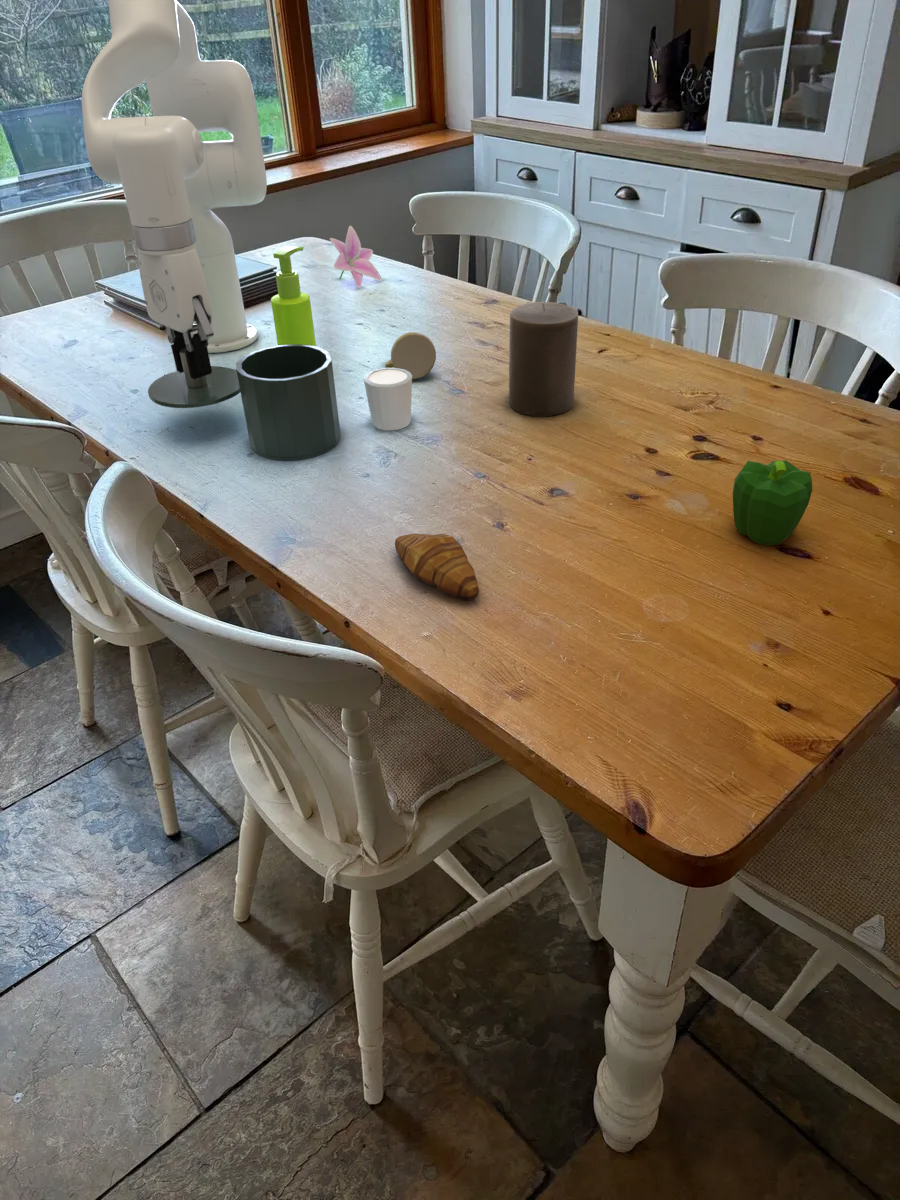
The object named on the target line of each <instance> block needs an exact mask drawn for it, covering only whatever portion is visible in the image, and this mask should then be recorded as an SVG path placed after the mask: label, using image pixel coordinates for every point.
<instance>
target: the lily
mask: <svg viewBox="0 0 900 1200" xmlns="http://www.w3.org/2000/svg"><path fill="white" fill-rule="evenodd" d="M329 241H330V243H332V245H333V246H334V248H335V249H336V250H337V252H338V253H339V255H338V256H337V258H336V260H335V262H334V263H333V268H334V269H335V270H339V271H341V273H340V276H339V278H338V279H339V280H341V279H342V277H343V275H344V272H350V274H351V276H352V279H353V281H354V283H355V285H356V287H357V289H360V288H361V287H362V283H363V280H364V279H363V278H364V276H366V277H369V278H372V279H374V280H377V281H379V282H380V281H381V282H382V281H383V279H382V275H380V272H379V271H378V269H377V268H376V266H375V265H374V264H373V263H372V262H371V261H370V260H371V258H372V256H373V254H374V250H373V249H371V248H366V247H362V244H361V241H360V238H359V236H358V234H357V232H356V230H355V228H353V226H352V225H349V227H348V228H347V232H346V236H345V240H344V241H345V242H343V241H342V240H339V239H337V238H334V237H329ZM363 275H364V276H363Z"/></svg>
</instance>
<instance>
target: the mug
mask: <svg viewBox="0 0 900 1200" xmlns="http://www.w3.org/2000/svg"><path fill="white" fill-rule="evenodd" d="M436 360H437V351H436V347H435V345H434V342H433V341H432V340H431V339H430V338H429V337H428V335H425V334H424V333H421V332H418V331H417V332H416V331H412V332H411V331H410V332H406V333H404V334H402V335H400V336H399V337H398V338H397V339H396V340H395V341H394V343H393V344H392V346H391V350H390V359H389V360H387V361H385V364H384V366H385V368H400V369H404V370H407V371H408V372H410V373H411V375H412V380H417V379H421V378H423V377H425V376H426V375H427V374H429V373H430V372H431V371H432V369H433V368H434V366H435V363H436Z"/></svg>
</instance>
